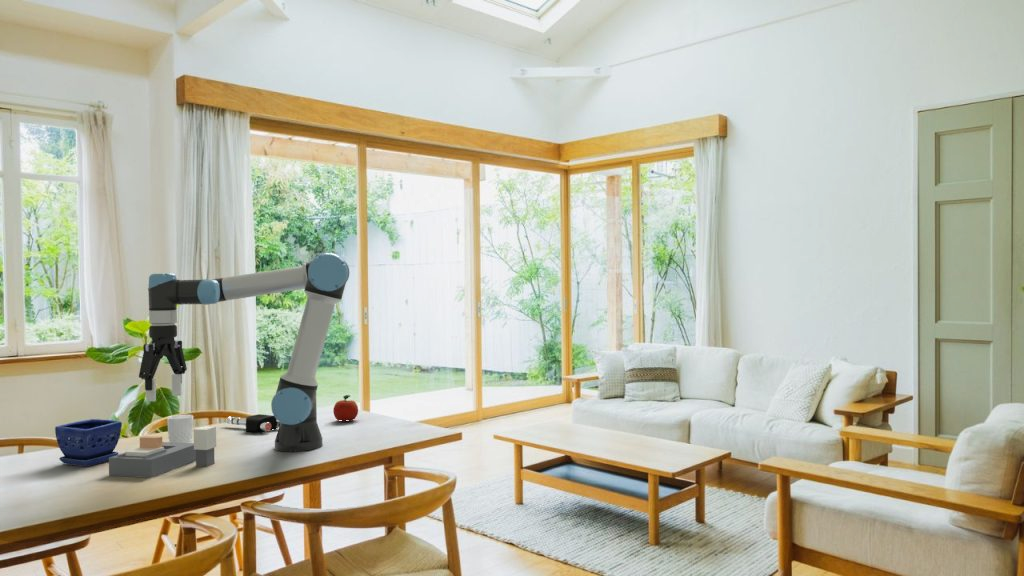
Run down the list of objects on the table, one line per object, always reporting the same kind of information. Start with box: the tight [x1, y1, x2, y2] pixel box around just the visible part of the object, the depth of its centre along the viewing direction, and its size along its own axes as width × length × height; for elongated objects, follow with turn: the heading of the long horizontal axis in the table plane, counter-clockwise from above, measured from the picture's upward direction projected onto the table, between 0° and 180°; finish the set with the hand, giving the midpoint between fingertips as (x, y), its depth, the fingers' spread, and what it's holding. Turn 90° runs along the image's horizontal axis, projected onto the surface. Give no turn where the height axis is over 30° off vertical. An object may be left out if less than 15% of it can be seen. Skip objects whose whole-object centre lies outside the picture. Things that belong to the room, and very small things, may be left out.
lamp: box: [225, 414, 280, 434], centre depth 258 cm, size 11×5×25 cm
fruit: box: [333, 394, 359, 421], centre depth 271 cm, size 10×10×10 cm
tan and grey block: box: [124, 435, 164, 457], centre depth 200 cm, size 7×7×4 cm
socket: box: [108, 441, 196, 478], centre depth 204 cm, size 14×20×6 cm
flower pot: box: [54, 418, 123, 467], centre depth 211 cm, size 13×13×12 cm
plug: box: [193, 425, 217, 467], centre depth 206 cm, size 4×4×11 cm
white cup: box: [166, 414, 194, 443], centre depth 231 cm, size 8×8×10 cm
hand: (164, 398), depth 208 cm, fingers open, 10 cm apart
